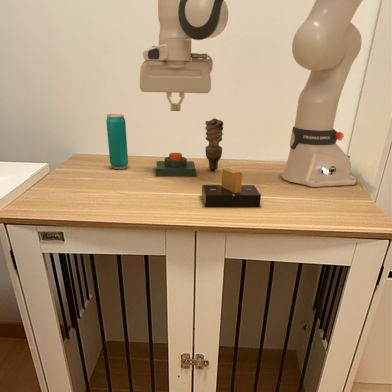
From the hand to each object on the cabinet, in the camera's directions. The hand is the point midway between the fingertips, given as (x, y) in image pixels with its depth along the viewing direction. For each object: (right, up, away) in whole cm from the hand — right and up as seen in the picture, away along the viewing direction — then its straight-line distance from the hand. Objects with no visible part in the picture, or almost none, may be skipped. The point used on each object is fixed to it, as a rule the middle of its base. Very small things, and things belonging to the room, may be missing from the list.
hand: (175, 110), depth 120 cm
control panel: (+15, -31, -13) cm, 37 cm away
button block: (0, -14, +10) cm, 17 cm away
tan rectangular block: (+15, -29, -14) cm, 36 cm away
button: (0, -11, +8) cm, 13 cm away
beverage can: (-19, -11, +13) cm, 25 cm away
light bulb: (+11, -12, +13) cm, 21 cm away
